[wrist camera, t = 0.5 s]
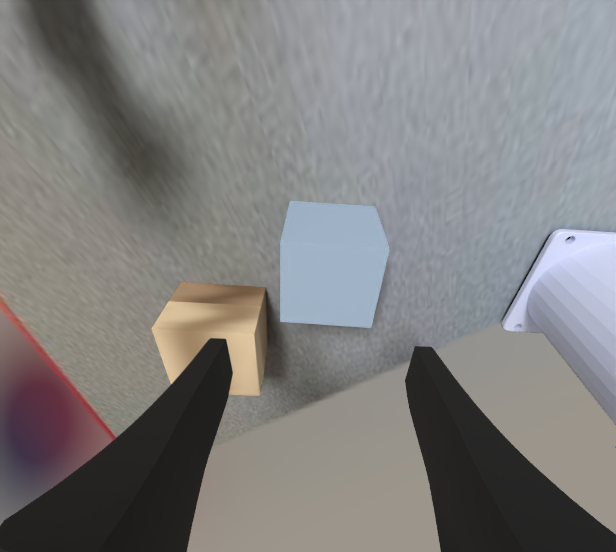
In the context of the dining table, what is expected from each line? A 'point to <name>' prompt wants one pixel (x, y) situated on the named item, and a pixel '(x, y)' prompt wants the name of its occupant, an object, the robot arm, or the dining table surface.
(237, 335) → the upper slab
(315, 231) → the cube
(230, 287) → the lower slab
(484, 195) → the dining table surface
